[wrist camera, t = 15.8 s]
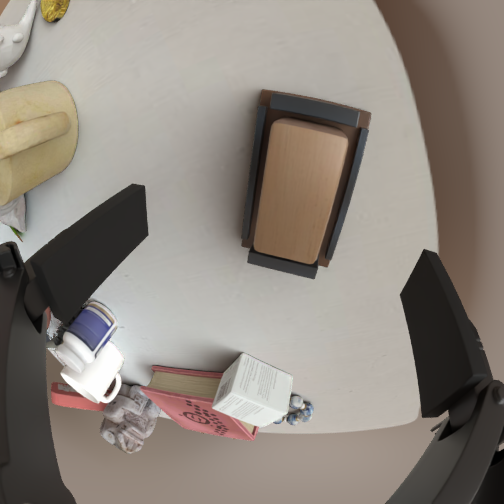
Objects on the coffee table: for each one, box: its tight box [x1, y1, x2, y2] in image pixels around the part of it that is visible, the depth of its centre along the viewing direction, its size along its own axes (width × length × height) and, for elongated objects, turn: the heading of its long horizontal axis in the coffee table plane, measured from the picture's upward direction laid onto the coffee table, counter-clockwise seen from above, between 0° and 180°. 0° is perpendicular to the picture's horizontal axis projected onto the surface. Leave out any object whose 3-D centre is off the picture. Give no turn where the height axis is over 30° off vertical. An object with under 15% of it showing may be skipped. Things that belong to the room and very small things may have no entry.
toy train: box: [53, 308, 84, 346], centre depth 41 cm, size 4×22×5 cm
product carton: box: [212, 353, 293, 428], centre depth 30 cm, size 6×6×7 cm
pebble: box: [0, 194, 26, 233], centre depth 26 cm, size 9×8×5 cm
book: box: [140, 366, 259, 441], centre depth 38 cm, size 14×15×5 cm
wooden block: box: [253, 116, 348, 264], centre depth 16 cm, size 4×4×8 cm
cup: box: [61, 340, 124, 403], centre depth 39 cm, size 8×12×10 cm
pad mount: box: [241, 89, 371, 279], centre depth 17 cm, size 12×7×3 cm, turn 173°
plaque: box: [51, 382, 112, 411], centre depth 50 cm, size 18×4×15 cm
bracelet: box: [273, 396, 313, 425], centre depth 36 cm, size 10×10×2 cm
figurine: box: [100, 384, 161, 454], centre depth 44 cm, size 10×11×15 cm
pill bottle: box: [56, 302, 118, 373], centre depth 32 cm, size 6×6×10 cm
